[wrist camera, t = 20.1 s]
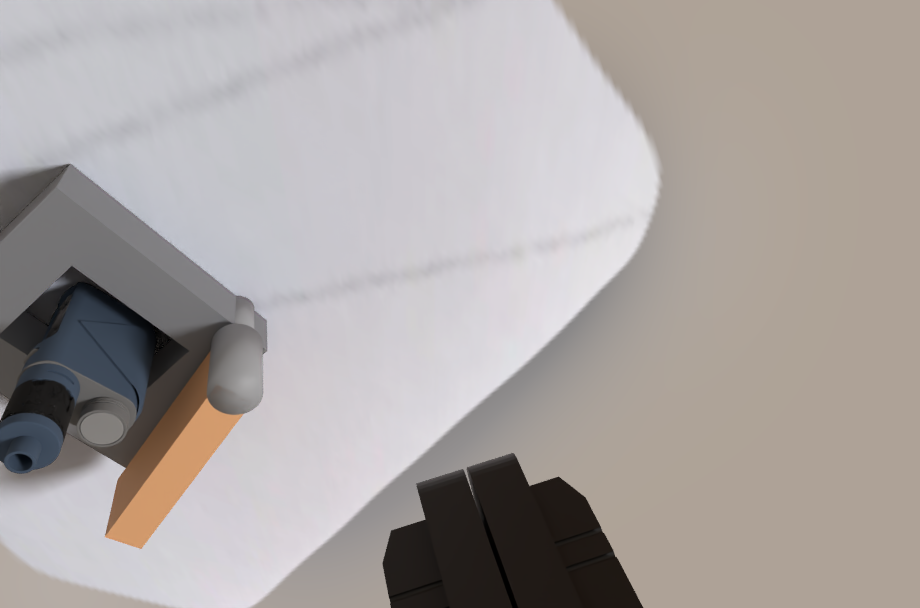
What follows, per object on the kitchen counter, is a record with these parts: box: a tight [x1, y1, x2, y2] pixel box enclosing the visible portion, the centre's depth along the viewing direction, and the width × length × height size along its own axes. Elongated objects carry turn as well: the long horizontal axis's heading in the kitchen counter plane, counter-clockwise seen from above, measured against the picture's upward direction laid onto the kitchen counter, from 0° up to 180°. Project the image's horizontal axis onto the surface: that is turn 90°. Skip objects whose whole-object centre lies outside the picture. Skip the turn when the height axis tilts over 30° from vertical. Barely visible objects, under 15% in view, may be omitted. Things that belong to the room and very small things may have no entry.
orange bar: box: [105, 324, 263, 549], centre depth 37 cm, size 11×2×4 cm, turn 141°
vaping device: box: [0, 283, 157, 474], centre depth 34 cm, size 3×5×12 cm, turn 45°
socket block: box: [0, 164, 267, 468], centre depth 38 cm, size 12×10×3 cm
